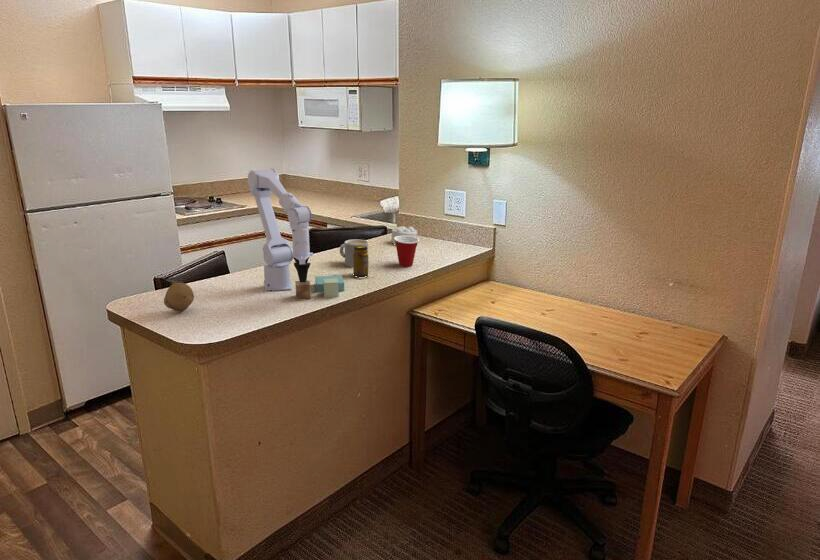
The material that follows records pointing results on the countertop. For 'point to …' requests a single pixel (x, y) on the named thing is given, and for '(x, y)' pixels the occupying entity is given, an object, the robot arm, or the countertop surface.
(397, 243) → the plastic cup
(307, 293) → the walnut block
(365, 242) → the coffee mug
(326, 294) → the sage block
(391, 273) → the countertop surface
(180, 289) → the brown round lump
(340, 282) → the teal base block
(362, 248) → the condiment
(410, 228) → the lumpy-topped squat cylinder
